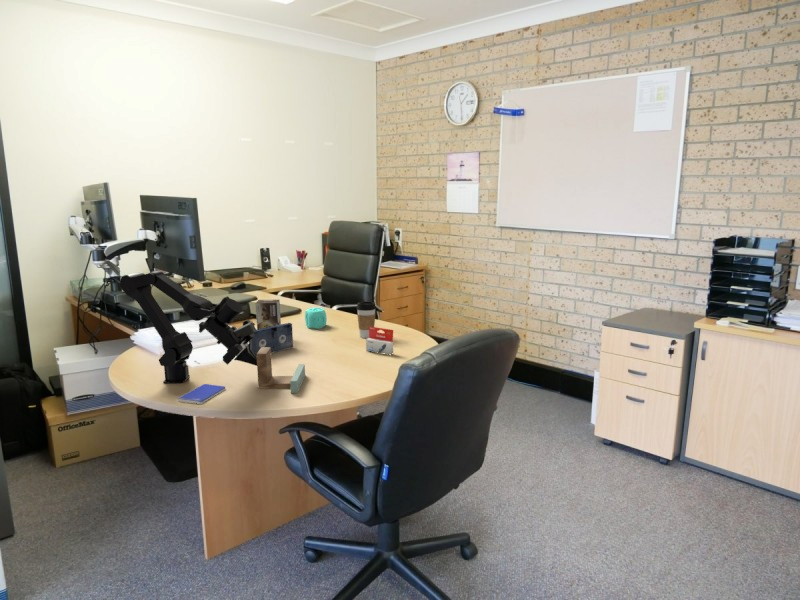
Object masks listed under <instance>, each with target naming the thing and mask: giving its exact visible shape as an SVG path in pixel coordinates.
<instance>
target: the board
mask: <svg viewBox="0 0 800 600" xmlns="http://www.w3.org/2000/svg"><path fill="white" fill-rule="evenodd" d="M305 365H306V364H305V363H304V364H303V363H299V364H298V365H297V367H296V368H295V371H294V373H293V375H292V376H293V377H292V379H291V381H290V384H291V388H290V393H291V394H298V393H299V391H300V388H301V386H302V384H303V381H304V379H305V377H306V366H305ZM301 383H302V384H301ZM297 392H298V393H297Z"/></svg>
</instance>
